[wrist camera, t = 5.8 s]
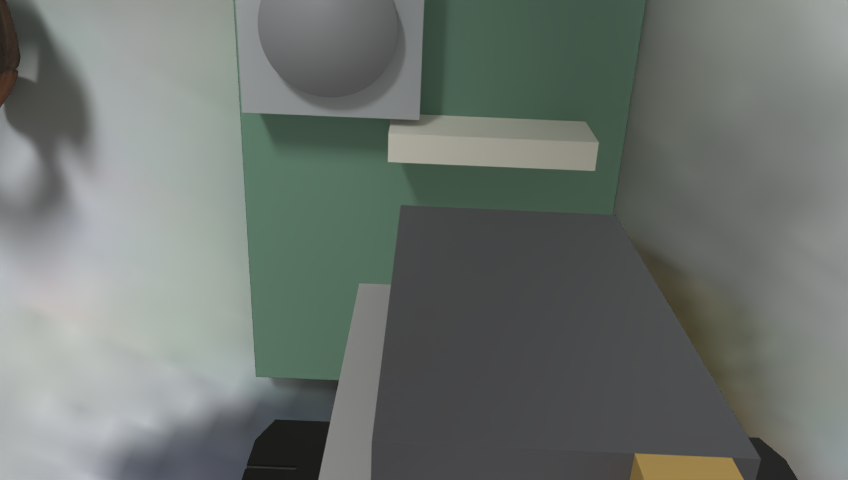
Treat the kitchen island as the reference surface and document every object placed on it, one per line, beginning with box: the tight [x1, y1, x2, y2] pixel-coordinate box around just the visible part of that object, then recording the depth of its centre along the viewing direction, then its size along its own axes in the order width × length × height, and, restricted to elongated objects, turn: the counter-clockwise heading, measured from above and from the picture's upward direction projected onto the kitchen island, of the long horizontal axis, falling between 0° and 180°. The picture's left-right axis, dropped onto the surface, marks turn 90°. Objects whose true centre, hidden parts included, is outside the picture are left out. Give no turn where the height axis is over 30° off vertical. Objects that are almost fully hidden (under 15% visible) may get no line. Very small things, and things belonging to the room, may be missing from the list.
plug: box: [371, 205, 761, 480], centre depth 12 cm, size 6×4×8 cm, turn 177°
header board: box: [234, 0, 646, 380], centre depth 29 cm, size 18×14×4 cm
